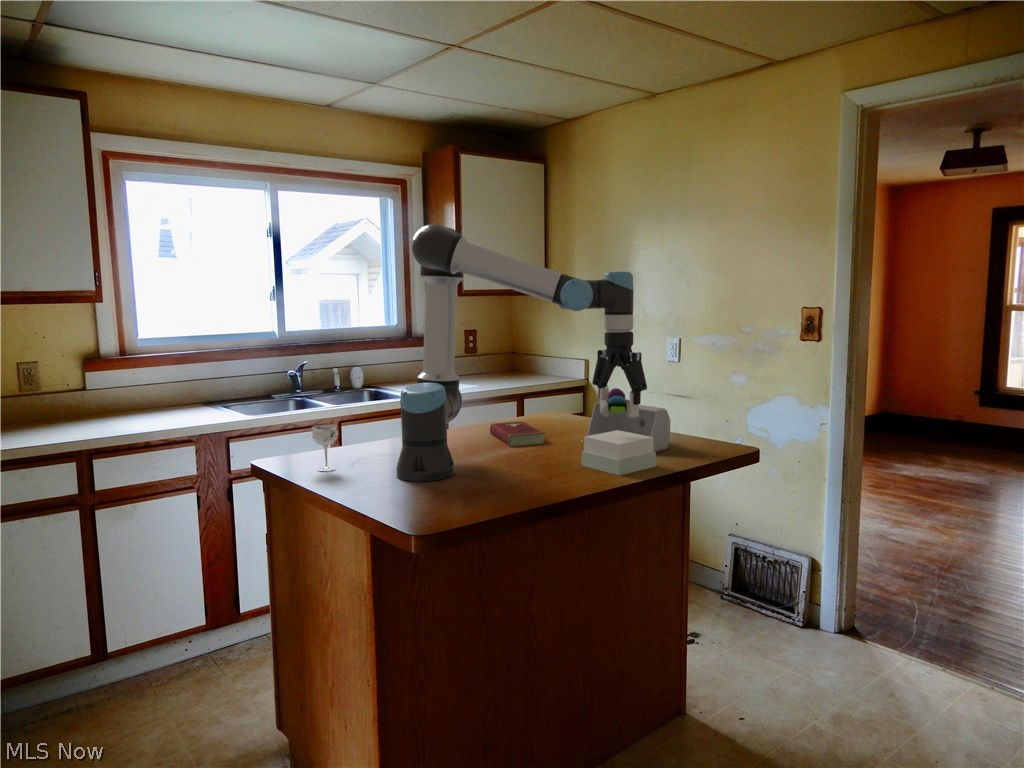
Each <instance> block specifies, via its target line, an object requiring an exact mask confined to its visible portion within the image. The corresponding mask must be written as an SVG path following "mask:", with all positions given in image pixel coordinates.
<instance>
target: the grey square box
mask: <svg viewBox="0 0 1024 768" xmlns="http://www.w3.org/2000/svg"><path fill="white" fill-rule="evenodd" d="M656 455H657V452H654V451H653V437H649V436H644V435H639V434H634V433H629V432H624V431H619V430H616V431H611V432H606V433H600V434H595V435H590V436H587V435H586V436H584V437H583V450H581V466H582V467H586V468H590V469H594V470H597V471H602V472H603V473H609V474H612V475H616V476H624V475H627V474H631V473H635V472H639V471H642V470H648V469H651V468H652V469H653V468H655V467H656V466H657V462H656V461H657V456H656Z"/></svg>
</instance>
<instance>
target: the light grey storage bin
mask: <svg viewBox="0 0 1024 768" xmlns="http://www.w3.org/2000/svg"><path fill="white" fill-rule="evenodd" d="M616 430H619V431H624V432H629V433H634V434H639V435H644V436H649V437H653V451H654V452H656V453H658V452H662V451H666V450H667V449H668V445H669V441H670V437H671V418H670V415H669V413H668V410H667V409H666V408H663V407H657V406H649V405H644V404H639V416H637V417H630V416H629V417H627V416H626V413H625V412H621V413H613V412H609V411H608V417H605V416H603V415H602V414H601V412H600V401H597V402H595V404H594V406H593V411H592V414H591V419H590V422H589V426H588V430H587V434H586V436H590V435H595V434H600V433H606V432H611V431H616Z"/></svg>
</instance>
